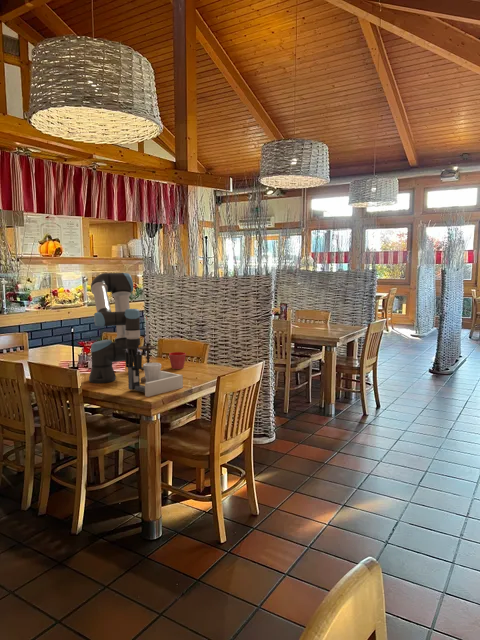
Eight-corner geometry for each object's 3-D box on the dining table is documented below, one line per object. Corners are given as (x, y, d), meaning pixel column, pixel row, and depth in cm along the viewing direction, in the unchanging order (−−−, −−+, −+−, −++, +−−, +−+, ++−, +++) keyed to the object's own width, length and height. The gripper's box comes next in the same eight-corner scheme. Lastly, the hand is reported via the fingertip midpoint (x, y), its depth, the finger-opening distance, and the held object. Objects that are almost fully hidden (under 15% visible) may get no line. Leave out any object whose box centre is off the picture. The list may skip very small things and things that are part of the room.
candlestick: (143, 371, 304) (141, 316, 300) (137, 368, 313) (136, 315, 309) (159, 369, 309) (158, 315, 305) (153, 366, 318) (152, 314, 315)
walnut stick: (145, 383, 273) (145, 378, 272) (140, 383, 273) (140, 378, 273) (158, 377, 288) (158, 372, 287) (154, 377, 289) (153, 372, 288)
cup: (149, 384, 268) (149, 361, 267) (165, 386, 265) (164, 363, 263) (139, 388, 259) (139, 365, 258) (155, 390, 256) (155, 366, 254)
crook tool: (126, 388, 255) (126, 366, 253) (156, 381, 270) (156, 361, 269) (143, 393, 246) (142, 370, 244) (173, 385, 261) (172, 364, 260)
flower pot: (183, 369, 307) (183, 355, 306) (167, 369, 309) (166, 354, 308) (187, 366, 318) (187, 352, 317) (172, 366, 319) (171, 351, 318)
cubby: (125, 390, 255) (124, 378, 254) (160, 382, 274) (160, 370, 273) (147, 396, 243) (147, 383, 242) (182, 387, 262) (182, 375, 261)
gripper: (117, 337, 254) (119, 380, 257) (136, 340, 244) (137, 385, 246) (129, 335, 260) (130, 378, 262) (148, 338, 249) (149, 382, 252)
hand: (134, 381), depth 254 cm, fingers closed on crook tool, 3 cm apart
